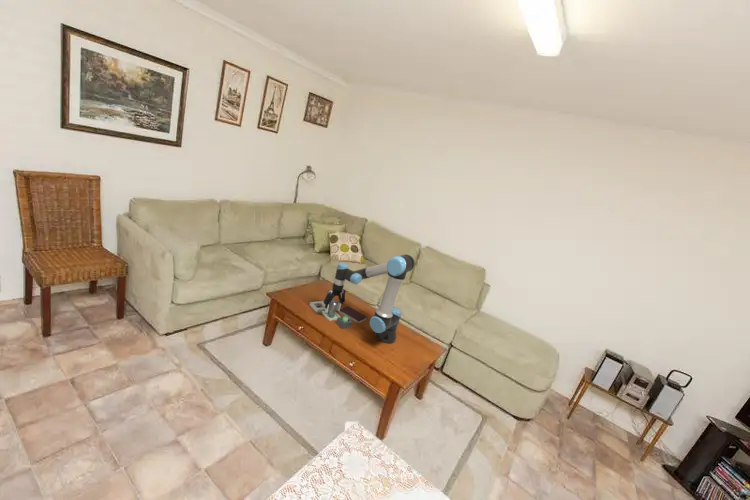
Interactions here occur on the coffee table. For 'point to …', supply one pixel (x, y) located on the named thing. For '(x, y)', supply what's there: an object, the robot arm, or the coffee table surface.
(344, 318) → the button
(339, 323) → the console
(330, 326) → the coffee table surface
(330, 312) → the billet
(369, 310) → the coffee table surface
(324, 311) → the green plate
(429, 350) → the coffee table surface
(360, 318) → the book
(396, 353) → the coffee table surface
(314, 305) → the pallet
